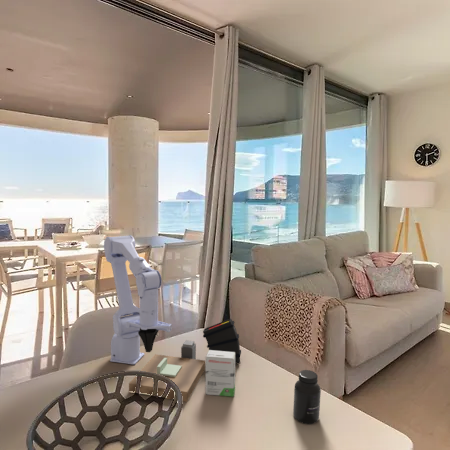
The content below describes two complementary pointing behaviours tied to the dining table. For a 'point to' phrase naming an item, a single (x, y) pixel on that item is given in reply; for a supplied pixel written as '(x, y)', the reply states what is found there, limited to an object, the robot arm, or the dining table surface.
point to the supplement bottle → (307, 397)
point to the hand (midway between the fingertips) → (148, 350)
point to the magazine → (223, 338)
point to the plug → (188, 350)
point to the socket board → (183, 379)
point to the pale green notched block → (168, 369)
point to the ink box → (220, 373)
